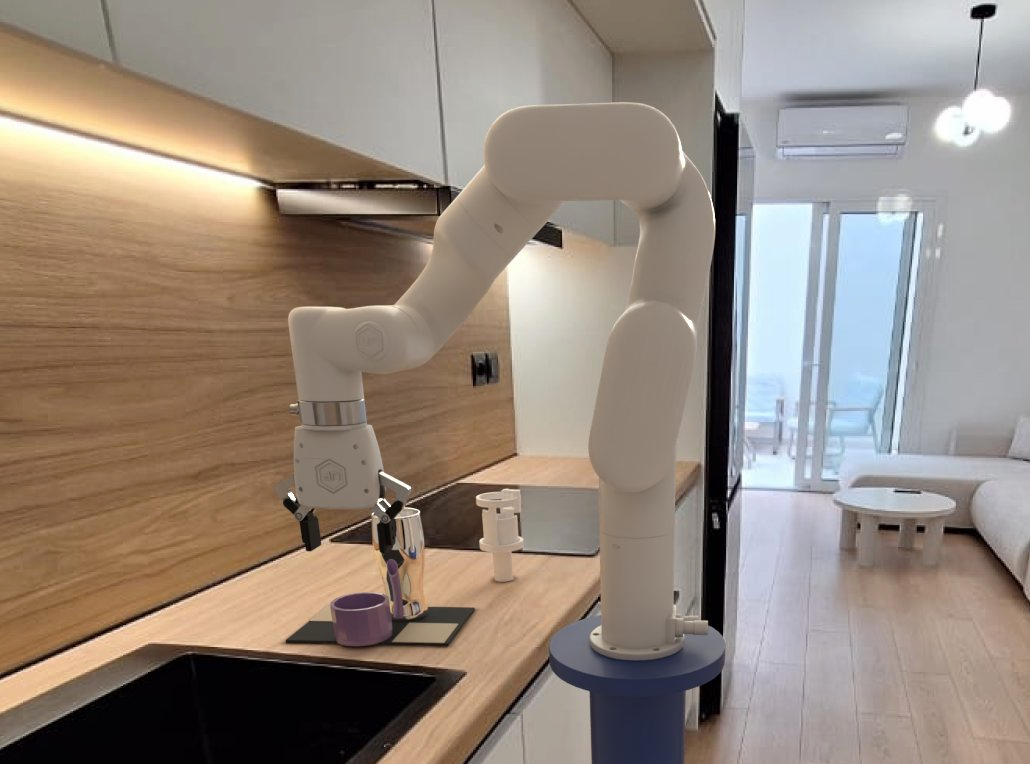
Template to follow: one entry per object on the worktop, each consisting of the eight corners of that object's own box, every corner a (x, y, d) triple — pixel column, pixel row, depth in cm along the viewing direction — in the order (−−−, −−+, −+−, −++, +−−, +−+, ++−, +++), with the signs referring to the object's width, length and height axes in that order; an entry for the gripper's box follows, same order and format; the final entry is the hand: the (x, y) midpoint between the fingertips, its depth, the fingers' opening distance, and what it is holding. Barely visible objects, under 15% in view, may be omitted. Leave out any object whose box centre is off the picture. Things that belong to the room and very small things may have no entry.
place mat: (474, 609, 120) (474, 606, 120) (448, 646, 107) (447, 642, 107) (330, 607, 121) (329, 604, 121) (285, 642, 108) (285, 639, 108)
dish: (400, 626, 113) (396, 592, 111) (381, 647, 106) (376, 611, 104) (348, 625, 113) (343, 591, 111) (326, 645, 106) (320, 610, 104)
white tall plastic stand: (517, 586, 130) (512, 494, 125) (476, 584, 131) (468, 492, 126) (530, 573, 137) (525, 485, 131) (490, 571, 138) (484, 484, 132)
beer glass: (426, 603, 121) (416, 505, 116) (436, 618, 116) (426, 515, 110) (378, 610, 119) (366, 509, 113) (386, 625, 113) (373, 520, 107)
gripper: (249, 416, 96) (271, 556, 102) (392, 420, 95) (406, 559, 101) (279, 409, 103) (298, 540, 109) (413, 412, 102) (424, 543, 108)
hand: (350, 549), depth 105 cm, fingers open, 9 cm apart
